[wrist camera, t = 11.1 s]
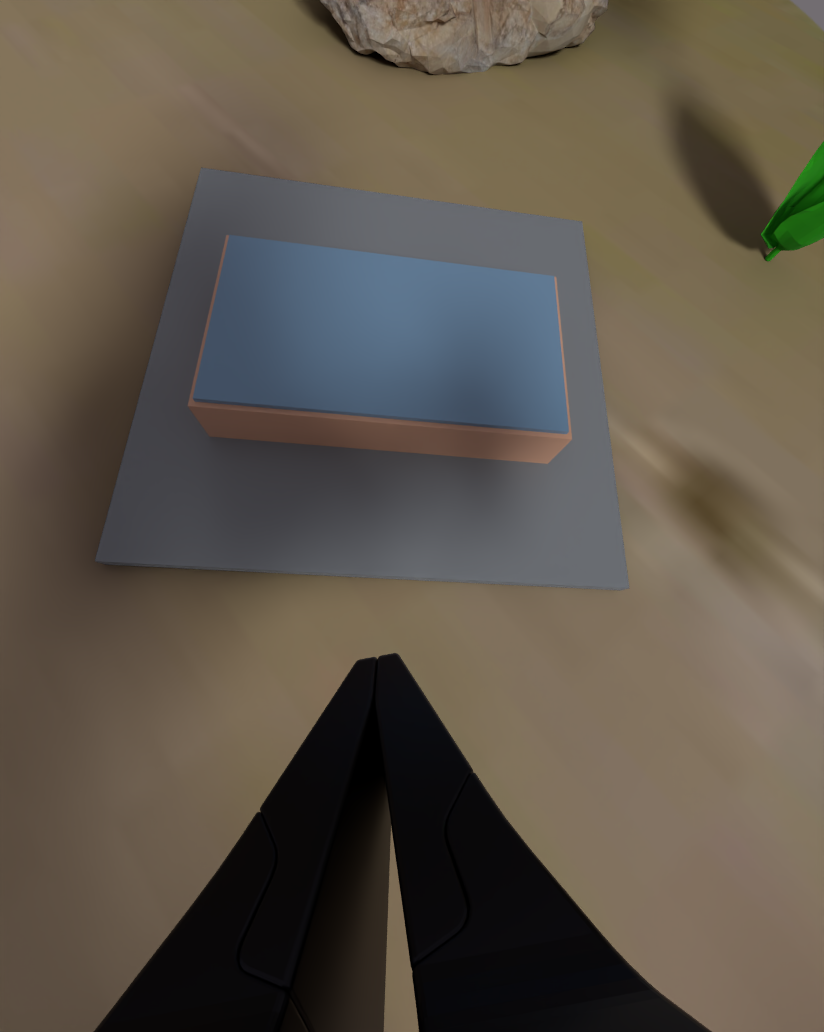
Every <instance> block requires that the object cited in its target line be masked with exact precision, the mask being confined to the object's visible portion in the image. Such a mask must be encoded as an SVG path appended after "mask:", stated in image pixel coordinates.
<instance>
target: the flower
mask: <svg viewBox="0 0 824 1032" xmlns="http://www.w3.org/2000/svg"><path fill="white" fill-rule="evenodd" d="M761 236H762V238H763V240H764V241H765V243H766V245H767V247H768V248H774V247H776V246H777V247H776V248H775V249H773V250H772V251H771V252H770V253H769V254H768V255H767V256H766V257H765V259H766V260H767V261H770V260H771V259H772V258H773V257H775V256H776V255H777V254H778V253H779V252H780V251H781V250H797V249H800V248H802V247H805V246H808V245H810V244H812V243H814V242H816V241H818V240H820V239H822V238H824V142H823V143H822V144H821V145H820V147H819V148H818V149H817V151H816V152H815V154H814V155H813V157H812V158H811V160H810V161H809V163H808V164H807V166H806V167H805V169H804V170H803V172H802V173H801V175H800V176H799V178H798V179H797V181H796V182H795V184H794V185H793V187H792V189H791V190H790V192H789V193H788V195H787V197H786V198H785V200H784V201H783V202H782V204H781V205H780V206H779V208H778V209H777V211H776V212H775V213H774V215H773V216H772V218H771V220H770V221H769V223H768V225H767V226H766V228H765V229H764V231H763V232H762V233H761Z"/></svg>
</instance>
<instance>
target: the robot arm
mask: <svg viewBox="0 0 824 1032" xmlns="http://www.w3.org/2000/svg"><path fill="white" fill-rule="evenodd" d="M260 811H261V812H257V813H256V814H255V816H254V818H253V819H252V821H251V822H250V824H249V825H248V827H247V828H246V830H245V831H244V833H243V834H242V836H241V837H240V839H239V840H238V842H237V843H236V844H235V846H234V847H233V849H232V850H231V852H230V853H229V855H228V856H227V857H226V859H225V860H224V862H223V863H222V865H221V866H220V868H219V869H218V871H217V872H216V873H215V875H214V876H213V877H212V879H211V880H210V881H209V883H208V884H207V885H206V887H205V888H204V889H203V891H202V892H201V893H200V895H199V896H198V897H197V899H196V900H195V901H194V903H193V904H192V905H191V907H190V908H189V909H188V911H187V912H186V913H185V915H184V916H183V917H182V919H181V920H180V921H179V922H178V924H177V925H176V926H175V928H174V929H173V930H172V931H171V933H170V934H169V935H168V937H167V938H166V939H165V941H164V942H163V943H162V944H161V946H160V947H159V948H158V950H157V951H156V952H155V953H154V955H153V956H152V957H151V959H150V960H149V961H148V962H147V964H146V965H145V966H144V968H143V969H142V970H141V972H140V973H139V974H138V975H137V977H136V978H135V979H134V981H133V982H132V983H131V984H130V986H129V987H128V988H127V990H126V991H125V992H124V994H123V995H122V996H121V997H120V999H119V1000H118V1001H117V1003H116V1004H115V1005H114V1006H113V1008H112V1009H111V1010H110V1012H109V1013H108V1014H107V1015H106V1017H105V1018H104V1019H103V1021H102V1022H101V1023H100V1025H99V1026H98V1027H97V1028H96V1029H95V1031H94V1032H384V1004H385V976H386V947H387V919H388V891H389V863H390V835H391V826H392V833H393V840H394V848H395V855H396V862H397V869H398V876H399V884H400V891H401V898H402V905H403V912H404V920H405V927H406V934H407V941H408V948H409V956H410V963H411V968H412V971H413V973H412V977H413V984H414V992H415V1000H416V1008H417V1017H418V1026H419V1032H712V1031H710V1030H709V1029H708V1028H706V1027H705V1026H704V1025H702V1024H701V1023H700V1022H698V1021H697V1020H696V1019H694V1018H693V1017H692V1016H690V1015H689V1014H688V1013H686V1012H685V1011H684V1010H682V1009H681V1008H680V1007H678V1006H677V1005H676V1004H674V1003H673V1002H672V1001H670V1000H669V999H668V998H666V997H665V996H664V995H663V994H661V993H660V992H659V991H658V990H656V989H655V988H654V987H653V986H652V985H651V984H649V983H648V982H647V981H646V980H645V979H644V978H643V977H642V976H641V975H640V974H639V973H638V972H637V971H636V970H635V969H634V968H633V967H632V966H631V965H630V964H629V963H628V962H627V961H626V960H625V959H624V958H623V957H622V956H621V955H620V954H619V953H618V952H617V951H616V949H615V948H614V947H613V946H612V945H611V944H610V943H609V942H608V940H607V939H606V938H605V937H604V936H603V935H602V934H601V932H600V931H599V930H598V929H597V928H596V927H595V925H594V924H593V923H592V922H591V921H590V919H589V918H588V917H587V916H586V915H585V914H584V912H583V911H582V910H581V909H580V908H579V906H578V905H577V904H576V903H575V902H574V900H573V899H572V898H571V897H570V896H569V895H568V893H567V892H566V891H565V890H564V889H563V887H562V886H561V885H560V884H559V883H558V882H557V880H556V879H555V878H554V877H553V876H552V874H551V873H550V872H549V871H548V870H547V868H546V867H545V866H544V865H543V864H542V863H541V861H540V860H539V859H538V858H537V857H536V855H535V854H534V853H533V852H532V851H531V849H530V848H529V847H528V846H527V844H526V843H525V842H524V841H523V839H522V838H521V837H520V836H519V834H518V833H517V832H516V830H515V829H514V828H513V827H512V825H511V824H510V823H509V822H508V820H507V819H506V818H505V816H504V815H503V813H502V812H501V811H500V809H499V808H498V806H497V805H496V803H495V802H494V800H493V799H492V798H491V796H490V795H489V793H488V792H487V790H486V789H485V787H484V786H483V784H482V783H481V781H480V780H479V778H478V776H477V775H476V774H475V773H473V769H472V768H471V766H470V765H469V763H468V761H467V760H466V758H465V757H464V755H463V754H462V752H461V751H460V749H459V747H458V746H457V744H456V743H455V741H454V740H453V738H452V737H451V735H450V733H449V732H448V730H447V729H446V727H445V726H444V724H443V723H442V721H441V720H440V718H439V716H438V715H437V713H436V712H435V710H434V709H433V707H432V706H431V704H430V702H429V701H428V699H427V698H426V696H425V695H424V693H423V692H422V690H421V688H420V687H419V685H418V684H417V682H416V681H415V679H414V678H413V676H412V675H411V673H410V671H409V670H408V668H407V667H406V665H405V664H404V662H403V661H402V659H401V657H400V656H399V655H398V654H397V653H393V654H388V655H382V656H380V657H379V658H378V659H377V658H376V657H371V658H366V659H360V660H358V661H357V662H356V663H355V664H354V666H353V667H352V669H351V670H350V672H349V673H348V675H347V676H346V678H345V679H344V681H343V682H342V684H341V686H340V687H339V689H338V690H337V692H336V693H335V695H334V696H333V698H332V699H331V701H330V702H329V704H328V705H327V707H326V708H325V710H324V711H323V713H322V714H321V716H320V717H319V719H318V721H317V722H316V724H315V725H314V727H313V728H312V730H311V731H310V733H309V734H308V736H307V737H306V739H305V740H304V742H303V743H302V745H301V746H300V748H299V749H298V751H297V752H296V754H295V755H294V757H293V759H292V760H291V762H290V763H289V765H288V766H287V768H286V769H285V771H284V772H283V774H282V775H281V777H280V778H279V780H278V781H277V783H276V784H275V786H274V787H273V789H272V790H271V792H270V794H269V795H268V797H267V798H266V800H265V801H264V803H263V804H262V806H261V807H260Z"/></svg>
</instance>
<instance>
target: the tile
mask: <svg viewBox="0 0 824 1032" xmlns="http://www.w3.org/2000/svg"><path fill="white" fill-rule="evenodd" d="M188 407H189V409H190V410H191V411H192V413H193V414H194V416H195V417H196V418H197V420H198V421H199V423H200V424H201V425H202V427H203V428H204V430H205V431H206V432H207V434H208V435H209V437H221V438H233V439H246V440H258V441H271V442H283V443H296V444H308V445H320V446H333V447H345V448H358V449H370V450H383V451H395V452H407V453H420V454H432V455H445V456H457V457H470V458H482V459H494V460H507V461H519V462H532V463H544V464H548V463H549V462H550V461H551V460H552V459H553V458H554V457H555V456H556V455H557V454H558V453H559V452H560V451H561V450H562V449H563V448H564V447H565V446H566V445H567V444H568V443H569V442H570V441H571V440H572V433H571V423H570V413H569V403H568V392H567V382H566V372H565V361H564V351H563V341H562V331H561V320H560V310H559V300H558V290H557V279H556V277H554V276H550V275H542V274H534V273H526V272H518V271H511V270H503V269H495V268H487V267H479V266H471V265H463V264H456V263H448V262H440V261H432V260H424V259H416V258H408V257H400V256H393V255H385V254H377V253H369V252H361V251H353V250H345V249H338V248H330V247H322V246H314V245H306V244H298V243H290V242H282V241H275V240H267V239H259V238H251V237H243V236H235V235H226V239H225V244H224V248H223V252H222V257H221V261H220V266H219V270H218V274H217V279H216V283H215V288H214V292H213V296H212V301H211V305H210V310H209V314H208V318H207V323H206V327H205V332H204V336H203V340H202V345H201V349H200V354H199V358H198V362H197V367H196V371H195V376H194V380H193V384H192V389H191V393H190V398H189V402H188Z"/></svg>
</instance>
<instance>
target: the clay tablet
mask: <svg viewBox="0 0 824 1032" xmlns="http://www.w3.org/2000/svg"><path fill="white" fill-rule="evenodd" d="M320 2H321V3H322V4H323V5H324V6H325V7H326V8H327V9H328V10H329V11H330V12H331V13H332V16H333V17H334V19H335V20H336V21H337V22H338V24H339V25H340V26H341V27H342V31H343V32H344V33H345V35H346V38H347V40H348V42H349V44H350V46H351V47H352V48H353V49H354V50H356V51H357V52H359V53H361V54H365V55H366V54H371V53H373V52H374V51H376V52H378V53H379V54H381V55H382V56H383V57H384V58H385V59H386V60H389V61H391V62H394V63H395V64H396V65H397V66H399V67H410V68H415V69H417V70H419V71H421V72H429V73H431V74H455V73H462V72H468V73H472V72H484V71H486V70H487V69H489V68H490V67H492V66H494V65H512V64H518V63H521V62H523V61H524V59H525V58H526V57H531V56H537V55H543V54H547V53H550V52H553V51H556V50H559V49H563V48H565V47H571V46H575V45H578V44H581V43H583V42H584V41H585V39H586V38H587V37H588V36H589V35H590V34H591V33H592V32H593V31H594V29H595V25H594V22H595V21H596V19H597V18H598V17H599V16H600V15H601V14H603V13H604V12H605V11H606V10H607V6H608V0H320Z"/></svg>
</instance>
